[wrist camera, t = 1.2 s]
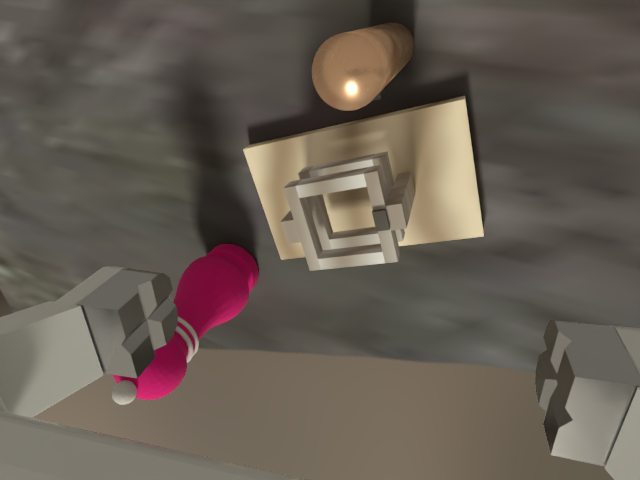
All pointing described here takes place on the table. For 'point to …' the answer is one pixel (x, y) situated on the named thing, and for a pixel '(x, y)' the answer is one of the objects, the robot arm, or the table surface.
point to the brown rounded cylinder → (360, 64)
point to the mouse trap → (370, 186)
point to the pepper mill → (194, 318)
